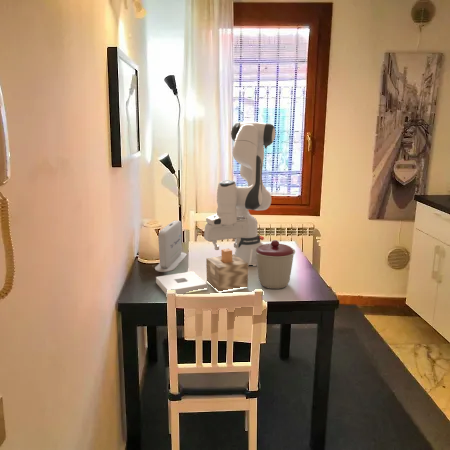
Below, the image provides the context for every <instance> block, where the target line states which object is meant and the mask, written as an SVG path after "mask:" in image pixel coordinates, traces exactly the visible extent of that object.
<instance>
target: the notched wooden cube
mask: <svg viewBox="0 0 450 450" xmlns="http://www.w3.org/2000/svg"><path fill="white" fill-rule="evenodd" d="M205 263H206V282H207V281H208V282H209V283H210V284H211V285H212V286H213V287H214V288H216V289H217V290H218V291H223V290H228V289H233V288H240V287H248V288H249V265H248V263H247V262H245V261H244V260H242V259H241V258H239V257H237V256H236V255H235V253H234V254H233V253H232V262H229V263H223V262H222V256H221V255H220V256H213V257H208V258H207V257H206V262H205Z"/></svg>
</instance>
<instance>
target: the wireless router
mask: <svg viewBox="0 0 450 450" xmlns="http://www.w3.org/2000/svg"><path fill="white" fill-rule="evenodd" d="M182 235H183V233H182V222H181V220H173V221H171V222H169V223H168V224H167V225H166V226H164V227H163V228H162V229H160V231H158V235H157V236H158V251H159V252H158V253H159V254H158V256H159V263H158V264H157V265H156V266H155V267H154V269H155V271H156V272H160V273H168V272H172V271H174V270H175V269H176V268H177V267H179V265H181V262H182V261H184V259H185V258H186V257H187V253H186V252H183V251H182V249H183V248H182V246H183V243H182V241H183V239H182V237H183V236H182Z"/></svg>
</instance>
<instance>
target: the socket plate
mask: <svg viewBox="0 0 450 450" xmlns="http://www.w3.org/2000/svg"><path fill="white" fill-rule="evenodd" d="M155 283H156V284H157V286H158V287H159V288H160V289H161V290H162V292H164V294H165V295H166V292H167V290H171V289H174V290H176V293H177V294H183V295H185V294H184V293H186V292H189V291H193V290H198V289H204V288H207V289H208V284H207V281H205V280H204V279H202V278H201V277H200V276H199V275H197V273H196V272H194V271H193V270H191V271H185V272H179V273H172V274H166V275H160V276H155Z"/></svg>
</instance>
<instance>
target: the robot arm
mask: <svg viewBox="0 0 450 450" xmlns="http://www.w3.org/2000/svg"><path fill="white" fill-rule="evenodd" d="M230 129H231V130H230V136H231V140H233V142H234V143H233V147H232V156H233V159H234V160H235V161H236V162H237V164H239V165H240V170H239V174H240V177H241V179H243V180H244V181H246V182H247V186H238V185H237V183H236V182H235V180H229V179H226V180H221V181H220V182H219V183H218V184H217V191H216V204H217V209H216V213H215V214H212V215H210V216H207V217H205V218H206V219H205V222H206V224H205V225H204V233H203V234H204V235H203V238H204V239H205V240H206V241H207V242H212V244H213V246H214V250H215V251H219V250H220V246H219V245H218V244H217V243H218V241H222V240H224V241H225V240H231V239H234V243H233V247H234V255H236V256H237V257H239V258H241V259H242V260H244V261H245V262H247V263H248V266H249V265H253V266H252V267H257V257H256V253H255V249H256V248H257V247H259V246H261V245H264V244H265V243H263V242H262V241H264V239H265V238H264V237H265V236H262V235H259V234H258V221H257V219H256V218H255V217H254V215H252V214H251V213H250V211H266V210H268V209H269V208H270V206H271V204H272V195H271V193H270V192H269V191H268V190H267V189H266V187H265V185H264V182H263V167H264V159H265V149H267V148H268V146H271V145H272V144H273V142H274V140H275V139H276V129H275V126H274V125H273V124H271V123H268V122H267V123H265V122H260V121H235V122H234V123H233V125H232V127H231V128H230ZM249 210H250V211H249Z"/></svg>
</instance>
